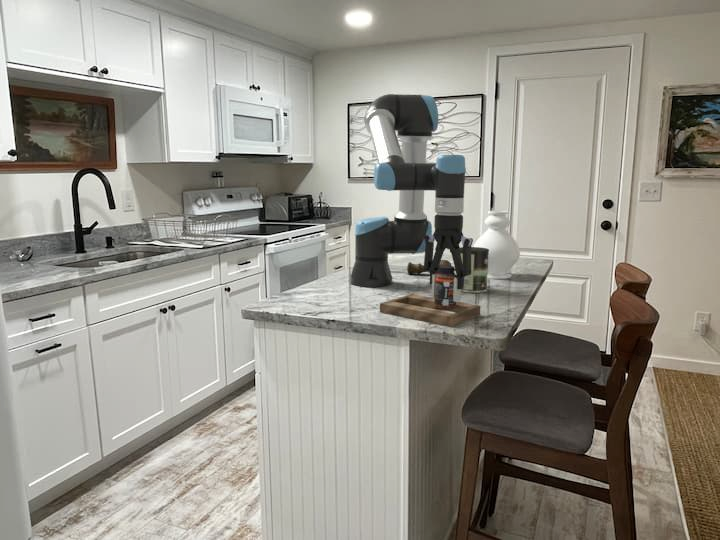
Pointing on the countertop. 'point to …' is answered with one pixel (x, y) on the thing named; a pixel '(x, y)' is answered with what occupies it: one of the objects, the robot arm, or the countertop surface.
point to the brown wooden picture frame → (429, 310)
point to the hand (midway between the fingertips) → (445, 298)
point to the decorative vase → (499, 245)
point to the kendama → (420, 268)
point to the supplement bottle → (445, 288)
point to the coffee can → (476, 271)
